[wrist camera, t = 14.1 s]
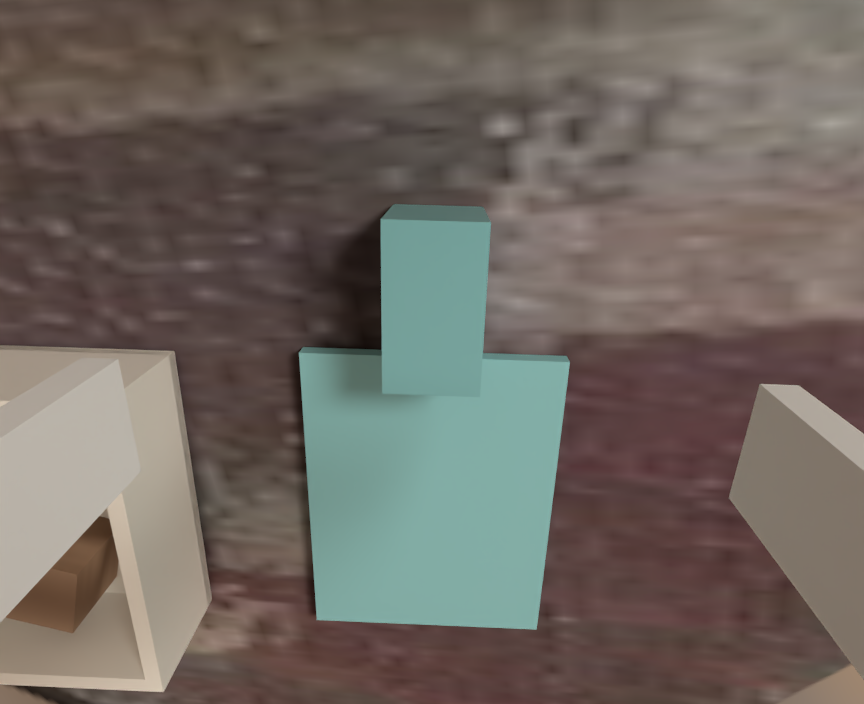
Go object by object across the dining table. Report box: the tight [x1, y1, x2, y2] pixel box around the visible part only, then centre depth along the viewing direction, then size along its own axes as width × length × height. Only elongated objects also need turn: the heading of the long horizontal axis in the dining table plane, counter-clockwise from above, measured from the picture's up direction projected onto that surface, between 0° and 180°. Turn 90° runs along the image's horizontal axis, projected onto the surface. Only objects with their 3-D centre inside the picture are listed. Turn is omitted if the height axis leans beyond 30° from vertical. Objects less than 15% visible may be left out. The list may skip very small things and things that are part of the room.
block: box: [5, 516, 119, 633], centre depth 29 cm, size 4×4×4 cm
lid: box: [299, 204, 570, 629], centre depth 27 cm, size 24×13×5 cm, turn 179°
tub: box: [0, 345, 212, 692], centre depth 28 cm, size 16×12×6 cm
